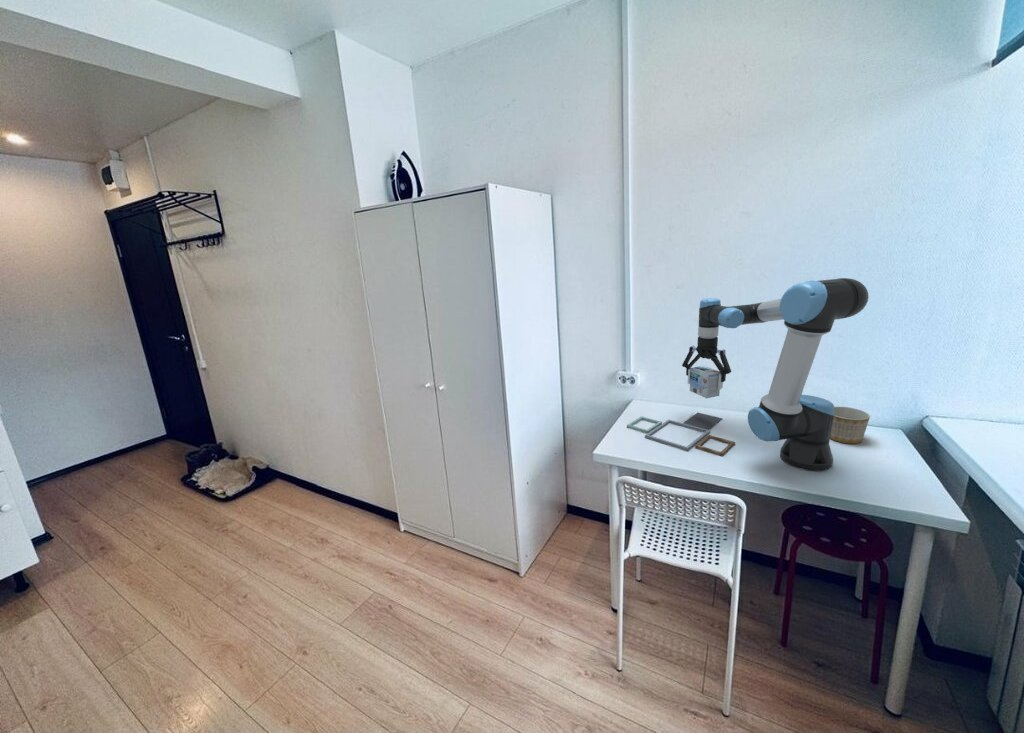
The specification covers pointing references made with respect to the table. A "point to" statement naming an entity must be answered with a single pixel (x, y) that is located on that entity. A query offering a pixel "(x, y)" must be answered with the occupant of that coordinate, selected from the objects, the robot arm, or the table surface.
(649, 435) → the slate frame
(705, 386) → the light bulb box
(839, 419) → the planter
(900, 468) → the table surface
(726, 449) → the walnut frame
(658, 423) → the teal frame
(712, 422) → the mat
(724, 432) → the table surface
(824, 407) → the robot arm
